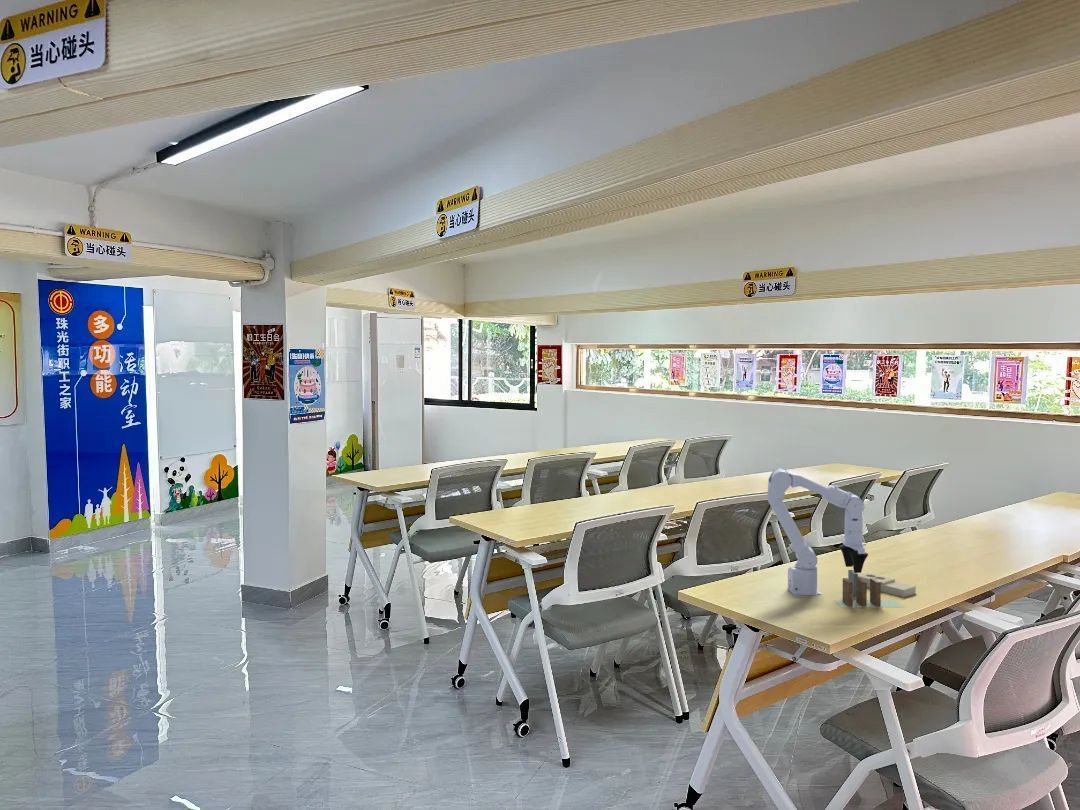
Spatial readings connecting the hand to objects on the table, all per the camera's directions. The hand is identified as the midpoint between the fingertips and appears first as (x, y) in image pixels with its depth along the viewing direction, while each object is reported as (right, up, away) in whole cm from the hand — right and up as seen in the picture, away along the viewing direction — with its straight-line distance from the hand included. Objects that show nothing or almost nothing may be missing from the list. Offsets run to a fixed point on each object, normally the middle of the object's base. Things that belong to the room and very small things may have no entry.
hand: (853, 569), depth 252 cm
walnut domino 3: (+3, -9, -11) cm, 14 cm away
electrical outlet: (+14, -9, +6) cm, 17 cm away
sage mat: (+1, -9, -10) cm, 14 cm away
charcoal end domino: (0, -9, 0) cm, 9 cm away
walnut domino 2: (-2, -9, -10) cm, 14 cm away
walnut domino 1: (-6, -9, -10) cm, 15 cm away
